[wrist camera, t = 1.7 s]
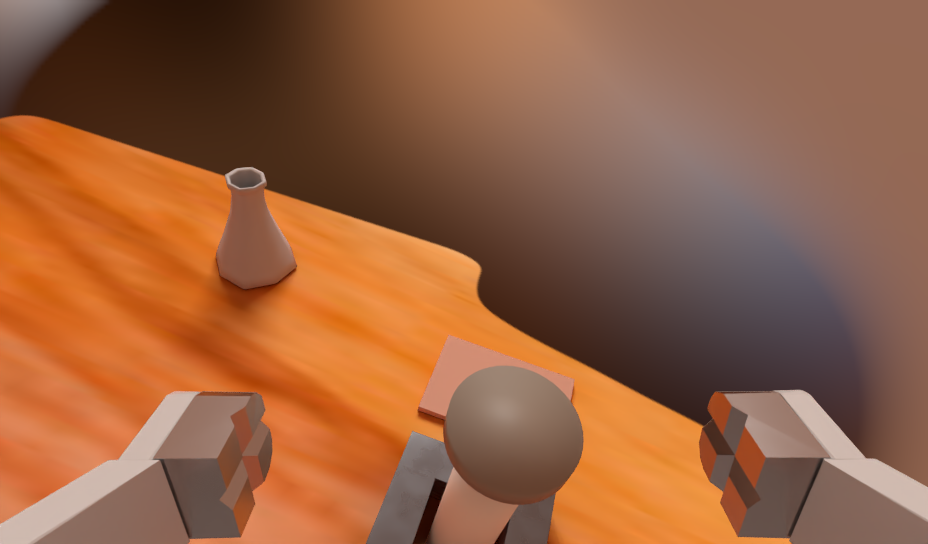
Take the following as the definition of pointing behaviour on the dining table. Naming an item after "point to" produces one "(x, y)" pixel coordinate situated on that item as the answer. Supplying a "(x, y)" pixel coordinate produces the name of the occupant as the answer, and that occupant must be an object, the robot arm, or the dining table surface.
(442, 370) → the pad
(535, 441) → the peg
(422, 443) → the eye block
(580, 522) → the dining table surface
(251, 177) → the flask
